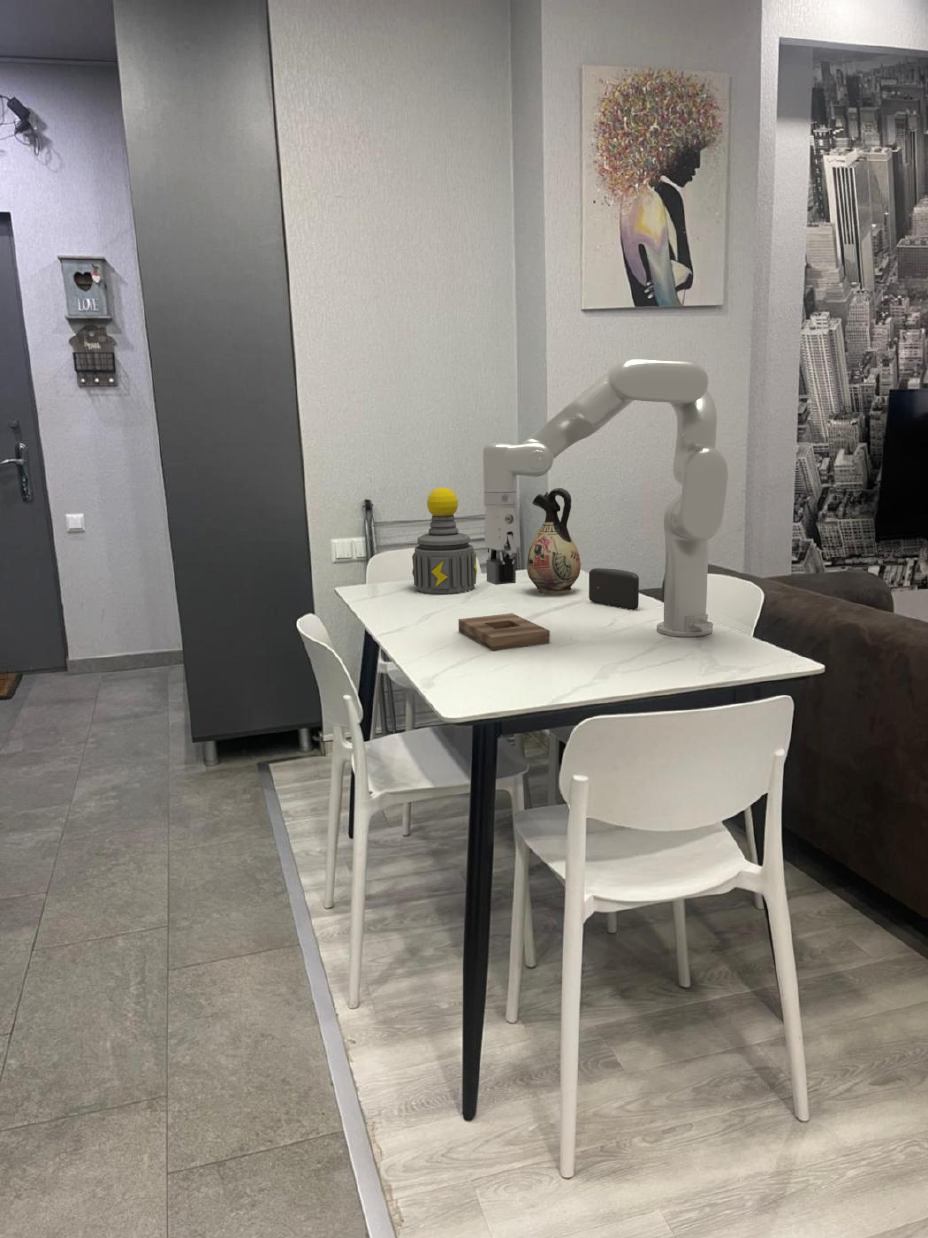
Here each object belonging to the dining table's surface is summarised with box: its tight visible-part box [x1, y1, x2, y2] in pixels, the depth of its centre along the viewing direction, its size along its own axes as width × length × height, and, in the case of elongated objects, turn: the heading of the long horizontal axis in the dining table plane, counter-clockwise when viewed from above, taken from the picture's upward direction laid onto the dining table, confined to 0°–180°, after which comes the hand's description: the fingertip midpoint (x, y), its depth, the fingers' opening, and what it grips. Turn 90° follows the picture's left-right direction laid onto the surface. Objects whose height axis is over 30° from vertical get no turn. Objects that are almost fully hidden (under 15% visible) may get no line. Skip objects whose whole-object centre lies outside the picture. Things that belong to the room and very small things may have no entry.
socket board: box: [458, 612, 551, 652], centre depth 206 cm, size 20×14×3 cm
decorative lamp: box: [411, 486, 478, 595], centre depth 262 cm, size 19×19×30 cm
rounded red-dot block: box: [588, 567, 640, 611], centre depth 236 cm, size 16×5×9 cm, turn 41°
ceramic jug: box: [526, 487, 582, 596], centre depth 252 cm, size 17×15×30 cm
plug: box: [485, 551, 517, 586], centre depth 202 cm, size 5×5×7 cm
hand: (501, 578), depth 203 cm, fingers closed on plug, 5 cm apart
